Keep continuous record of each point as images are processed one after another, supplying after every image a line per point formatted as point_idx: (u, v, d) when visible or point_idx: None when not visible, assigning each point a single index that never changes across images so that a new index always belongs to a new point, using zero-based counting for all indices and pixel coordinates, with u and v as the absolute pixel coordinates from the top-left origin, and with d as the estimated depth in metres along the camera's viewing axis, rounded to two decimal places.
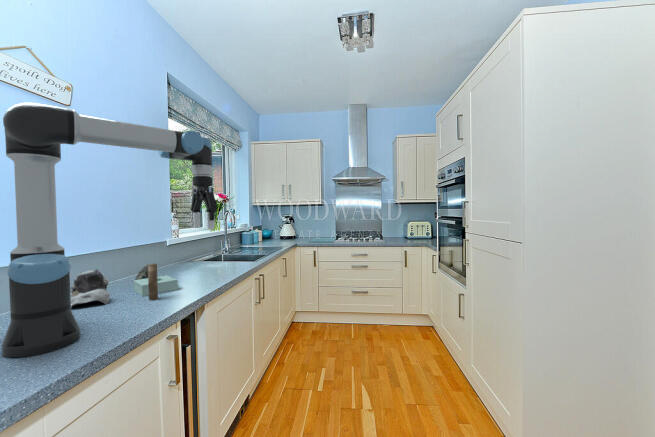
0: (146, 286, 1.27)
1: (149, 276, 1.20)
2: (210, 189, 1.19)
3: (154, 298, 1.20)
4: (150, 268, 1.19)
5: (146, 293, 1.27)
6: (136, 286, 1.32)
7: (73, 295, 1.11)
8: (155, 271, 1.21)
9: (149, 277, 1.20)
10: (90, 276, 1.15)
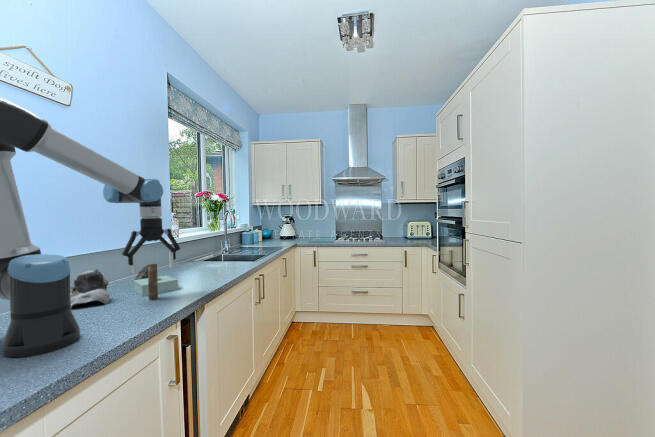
0: (146, 286, 1.27)
1: (149, 276, 1.20)
2: (131, 233, 1.16)
3: (154, 298, 1.20)
4: (150, 268, 1.19)
5: (146, 293, 1.27)
6: (136, 286, 1.32)
7: (73, 295, 1.11)
8: (155, 271, 1.21)
9: (149, 277, 1.20)
10: (90, 276, 1.15)
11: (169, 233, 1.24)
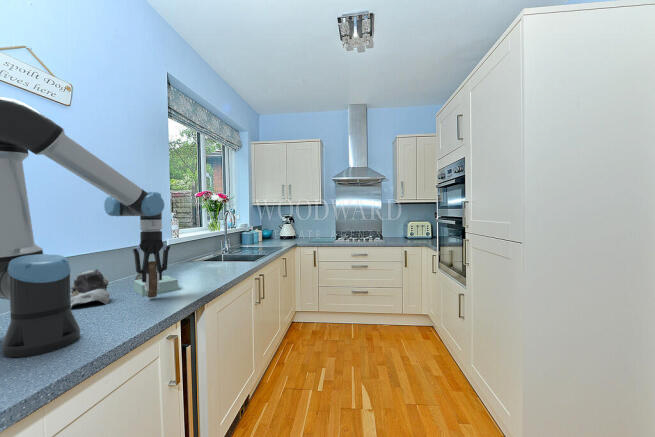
0: None
1: (148, 273, 1.19)
2: (133, 251, 1.16)
3: (153, 296, 1.20)
4: (149, 265, 1.19)
5: (146, 293, 1.27)
6: (136, 286, 1.32)
7: (73, 295, 1.11)
8: (154, 268, 1.20)
9: None
10: (90, 276, 1.15)
11: (166, 250, 1.24)
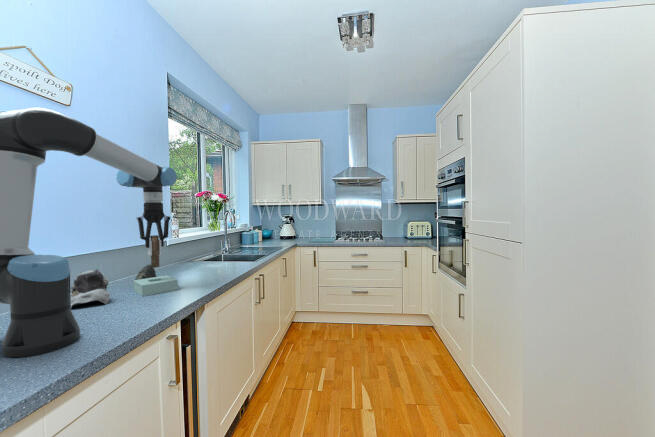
0: (146, 286, 1.27)
1: None
2: (137, 219, 1.30)
3: (156, 266, 1.34)
4: (152, 239, 1.33)
5: (146, 293, 1.27)
6: (136, 286, 1.32)
7: (73, 295, 1.11)
8: (157, 241, 1.34)
9: None
10: (90, 276, 1.15)
11: (167, 220, 1.38)
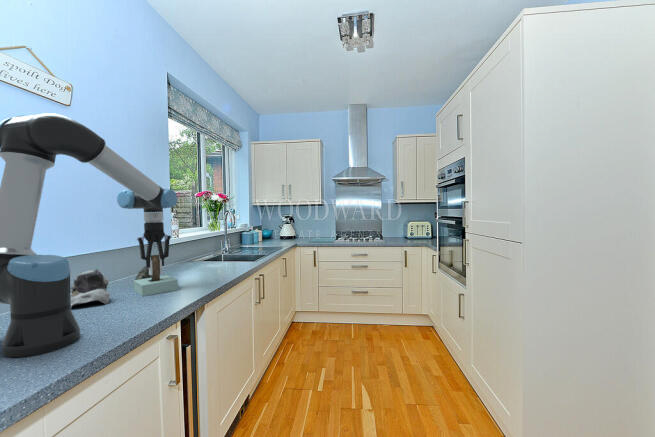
0: (146, 286, 1.27)
1: (152, 266, 1.34)
2: (138, 240, 1.30)
3: None
4: (152, 258, 1.34)
5: (146, 293, 1.27)
6: (136, 286, 1.32)
7: (73, 295, 1.11)
8: (157, 261, 1.35)
9: (152, 266, 1.34)
10: (90, 276, 1.15)
11: (168, 239, 1.38)
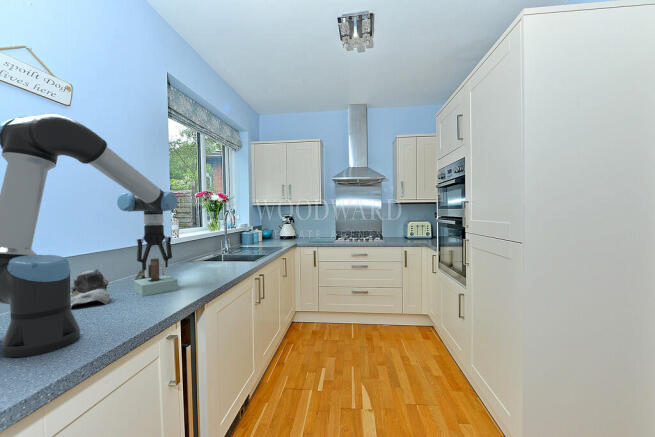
0: (146, 286, 1.27)
1: (152, 269, 1.34)
2: (137, 241, 1.30)
3: None
4: (152, 262, 1.33)
5: (146, 293, 1.27)
6: (136, 286, 1.32)
7: (73, 295, 1.11)
8: (157, 265, 1.35)
9: (152, 270, 1.34)
10: (91, 276, 1.15)
11: (168, 241, 1.38)
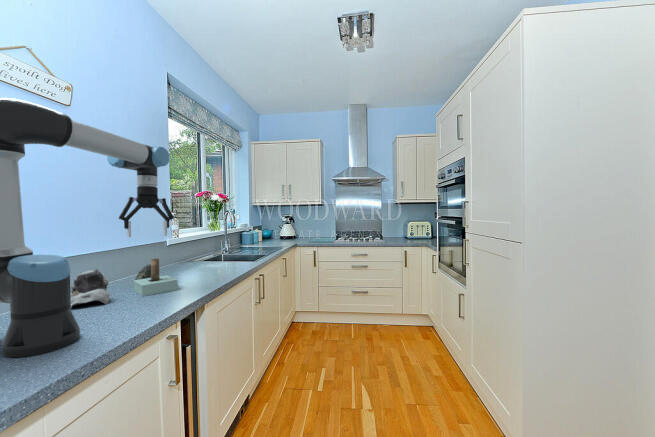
0: (146, 286, 1.27)
1: (152, 269, 1.34)
2: (128, 199, 1.23)
3: None
4: (152, 262, 1.33)
5: (146, 293, 1.27)
6: (136, 286, 1.32)
7: (73, 295, 1.11)
8: (157, 265, 1.35)
9: (152, 270, 1.34)
10: (90, 276, 1.15)
11: (164, 202, 1.32)
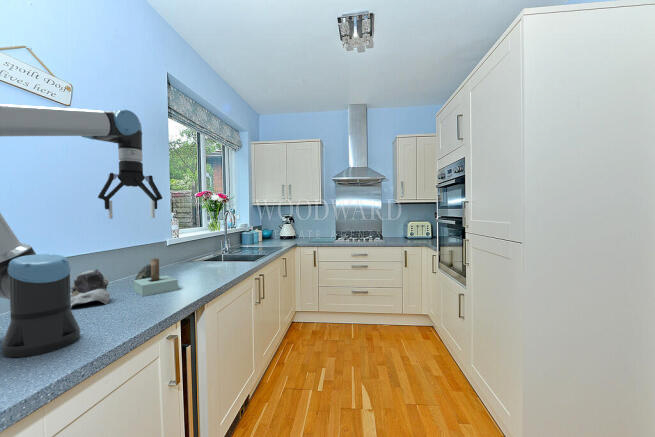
0: (146, 286, 1.27)
1: (152, 269, 1.34)
2: (109, 175, 1.08)
3: None
4: (152, 262, 1.33)
5: (146, 293, 1.27)
6: (136, 286, 1.32)
7: (73, 295, 1.11)
8: (157, 265, 1.35)
9: (152, 270, 1.34)
10: (90, 276, 1.15)
11: (150, 180, 1.17)
